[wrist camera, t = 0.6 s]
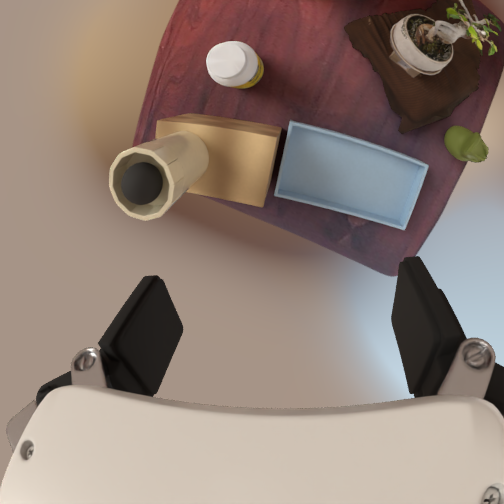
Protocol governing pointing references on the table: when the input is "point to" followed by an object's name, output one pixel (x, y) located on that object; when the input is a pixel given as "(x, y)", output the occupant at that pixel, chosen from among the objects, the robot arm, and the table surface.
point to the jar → (162, 170)
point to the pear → (465, 144)
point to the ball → (141, 183)
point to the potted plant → (425, 57)
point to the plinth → (230, 155)
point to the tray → (349, 175)
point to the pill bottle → (234, 65)
